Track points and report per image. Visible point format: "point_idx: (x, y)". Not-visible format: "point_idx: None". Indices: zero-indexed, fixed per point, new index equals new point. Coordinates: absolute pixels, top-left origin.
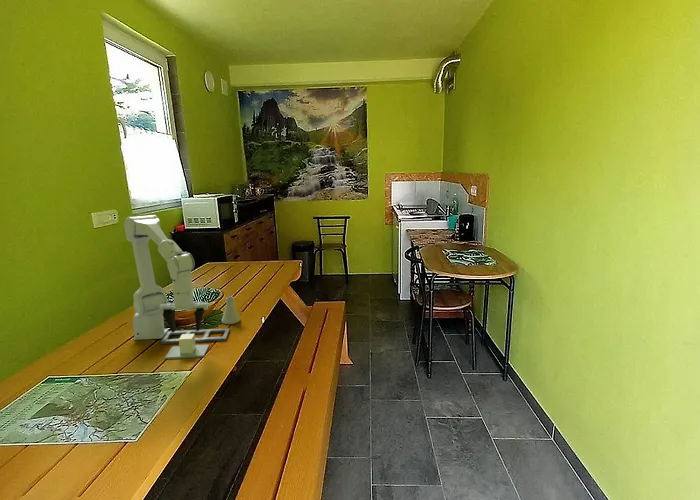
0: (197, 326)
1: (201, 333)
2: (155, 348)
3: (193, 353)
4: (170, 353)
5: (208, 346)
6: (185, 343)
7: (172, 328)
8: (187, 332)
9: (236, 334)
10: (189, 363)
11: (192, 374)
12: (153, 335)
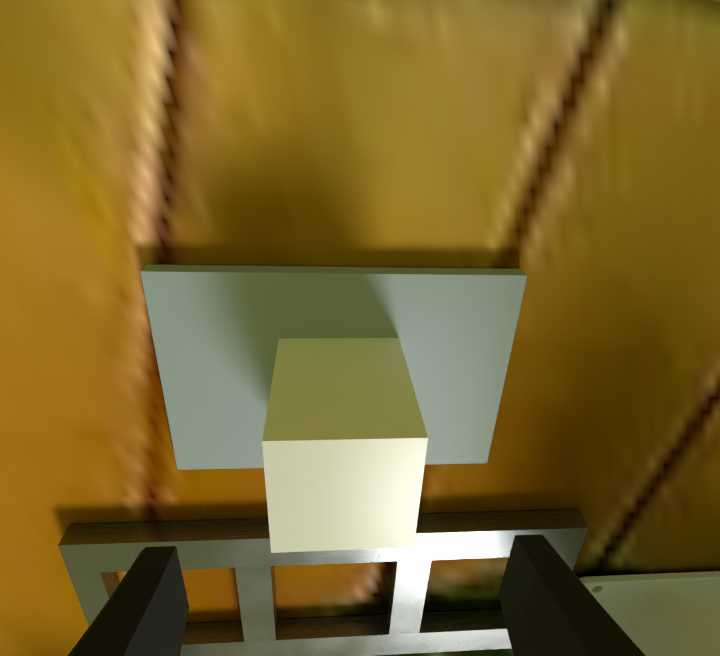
0: (108, 624)
1: (311, 621)
2: (610, 457)
3: (266, 322)
4: (485, 347)
5: (175, 443)
6: (344, 399)
7: (560, 589)
8: (409, 629)
9: (30, 603)
10: (255, 138)
11: None
12: (641, 601)
